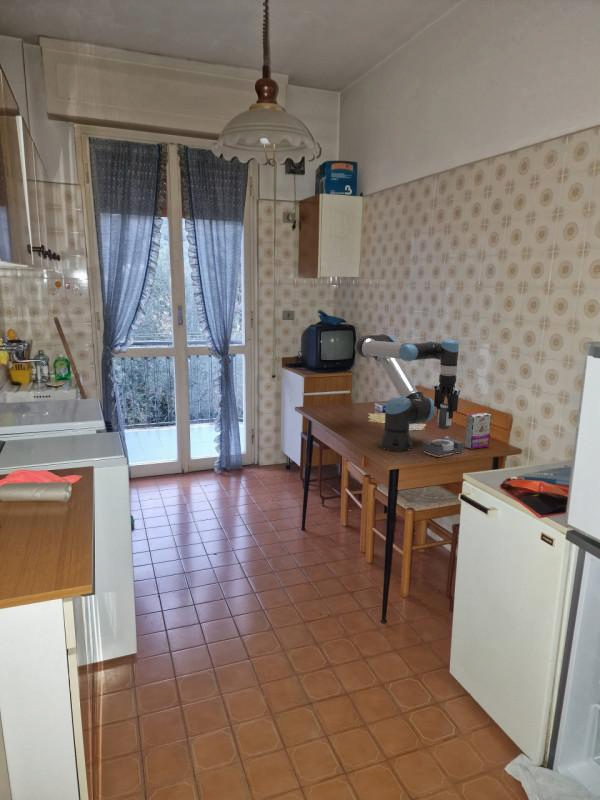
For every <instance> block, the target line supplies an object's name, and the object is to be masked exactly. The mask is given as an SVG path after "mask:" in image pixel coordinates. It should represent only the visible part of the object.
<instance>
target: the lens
mask: <svg viewBox="0 0 600 800" xmlns="http://www.w3.org/2000/svg"><path fill="white" fill-rule="evenodd" d="M447 411H448V402H444V403H441V404H440V418H439V423H438V429H440V430H449V429H450V425H449V426H446V417H447Z"/></svg>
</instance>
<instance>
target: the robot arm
mask: <svg viewBox="0 0 600 800" xmlns="http://www.w3.org/2000/svg"><path fill="white" fill-rule="evenodd" d="M459 345H460V343H459V341H458V340H456V339H442V341H441V342H435V341H424V342H420V343H419V342H418V343H410V342H397V341H396V340H395V338H394V336H392V335H390V334H386V333H385V334H384V333H382V334H374V335H373V334H371V335H370V334H369V335H367V334H366V335H363V336H361V337H359V338H357V340H356V341H355V344H354V351H355V353H356V354H357V355H358V356H359V357H360V358H363V359H364V358H365V359H369V358H371V359H373V358H374V360H375V362H376V363H377V364H379V365H381V366H382V368H383V370H384V371H385V373H386V374H387V376H388V378H389V379H390V381H391V383H392V385H393V386H394V388H395V389H396V391H397V394H399V396H400V397H393V398H390V399H388V400H387V401H386V402H385V408H384V431H383V434H382V437H381V439H380V442H379V447H380V446H381V447H382V449H383V448H385V449H384V450H386V449H389V450H388V451H390V450H408V449H410V450H412V448H413V443H412V439H411V436H410V435H411V434H410V425H414V424H419V423H420V424H421V423H425V422H428V421H431V420H432V419H433V418H434V416H435V414H436V415H437V421H436V422H437V424H439V418H440V404H441V403H445V399H447V400H446V401H447V402H446V403H448V411H447V417H446V426H449V427H450V426H452V421H453V417H454V412H457V411H458V406H459V395H460V392H461V391H460V389H457V388H456V383H457V375H458V374H457V373H458V371H457V370H458V361H459V351H460V350H459V348H460V347H459ZM430 359H431V360H433V359H434V360H439V361H440V363H439V377H438V378H439V379H438V382H439V384H438V385H434V386H433V389H434V399H432V398H431V397H428V396H425V395H424V393H423V392H422V391H421V390H417V387H416V386H415V385H414V382H413V381H412V380H411V378H410V377H409V374H408V373H407V372H406V370H405V369H404V367H403V365H402V363H401V362H400V360H402V361H403V362H412V361H419V360H420V361H421V360H430ZM436 412H437V413H436ZM381 447H380V448H381ZM408 451H409V450H408Z"/></svg>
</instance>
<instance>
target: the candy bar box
mask: <svg viewBox="0 0 600 800" xmlns="http://www.w3.org/2000/svg"><path fill="white" fill-rule="evenodd" d="M491 422H492V414H491V413H487V412H481V413H480V412H479V413H473V414H472V413H471V414H467V415H466V425H465V426H466V427H465V437H464V438H465V442H464V447H465V448H466V447H467V448H466V449H468V448H470V449H469V450H471V449H472V450H476V449H475V448H479V449H483V447H485V448H489V447H488V446H490V437H491V426H492V425H491Z"/></svg>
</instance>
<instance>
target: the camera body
mask: <svg viewBox="0 0 600 800" xmlns="http://www.w3.org/2000/svg"><path fill="white" fill-rule="evenodd" d="M421 445H422V447H421V452H422V451H425V452H428V453H431V454H434V455H437V456H440V455H444V454H449V453H456V452H462V453H463V446H464V443H463V441H460V440H456V439H453V438H451V437H449V436H444V437H442V438H439V439H437V438H436V439H432V440H431V442H430V441H427V440H426V441H422V444H421Z"/></svg>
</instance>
